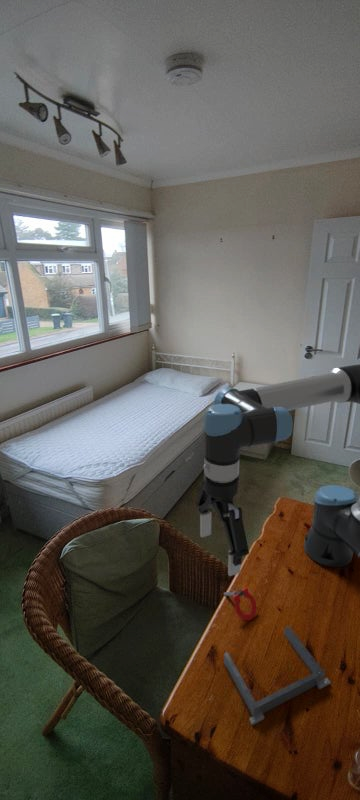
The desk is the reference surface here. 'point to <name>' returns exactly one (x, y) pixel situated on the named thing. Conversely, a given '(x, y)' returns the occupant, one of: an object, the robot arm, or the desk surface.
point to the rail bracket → (285, 693)
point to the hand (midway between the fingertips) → (218, 553)
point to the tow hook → (236, 598)
